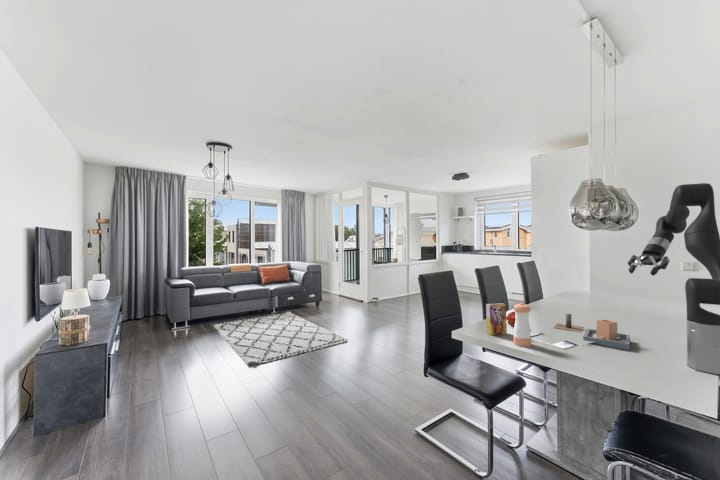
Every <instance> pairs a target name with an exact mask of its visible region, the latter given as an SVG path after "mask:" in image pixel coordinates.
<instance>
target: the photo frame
mask: <svg viewBox="0 0 720 480" xmlns="http://www.w3.org/2000/svg"><path fill="white" fill-rule="evenodd" d="M543 334H544V332H540V333H536V334H535V333H534V334H530V337H531V341H534V342H538V343H541V344H544V345H548V346H551V347H555V348H557V349H560V350H566V349H570V348H573V347H577V346H579V344H578V343H577V344H576V343H574V342H571V341H568V340H564V341H559V342H556V343H548V342H546V341H542V340H539V339H536V338H533V336H538V335H543Z"/></svg>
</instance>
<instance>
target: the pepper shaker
mask: <svg viewBox="0 0 720 480" xmlns="http://www.w3.org/2000/svg"><path fill="white" fill-rule="evenodd" d="M512 309H513V312H515V326H513V333H514V334H513V344H514V345H515V346H519V347H522V348H523V347H526V348H527V347H531V346H532V340H531V338H532V336H530V335H531V325H530V321H529V320H530V317H529V316H530V315H529V313H530V312H531V307H530V306H529V305H528V304H525V303H524V302H520V303H517V304H514V306H513V307H512Z"/></svg>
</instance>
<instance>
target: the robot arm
mask: <svg viewBox="0 0 720 480" xmlns="http://www.w3.org/2000/svg"><path fill="white" fill-rule="evenodd" d="M715 205H716V204H715V193H714V188H713V186H712V185H711V184H710V183H707V182H705V183H704V182H703V183H687V184H686V183H685V184H680V185H678V186H676V187H675V188H674V190H673V193H672V196H671V200H670V204H669V209H668V211H667V213H666V215H662V216H659V218H658V219H657V220H656V225H655V232H654V234H653V235H652V237H651V239H650V240H649V241H648V242H647V244H646V245H645V247H644V249H643V250H642V252H641V255H639V256H637V255H635V254H633V255H632V256H631V257H630V259H629V260H628V261H627V265H628V266H629V268H628V270H627V271H628V272H629V274H632V275H633V274H634V272H635V271H636V268H638V267H642V266H653V267H652V269H650V273H649V274H650V275H651V276H653V277H654V276H656V275H657V274H658V273H659V271H660V270H666V269H667V268H668V266H669V263H670V261H671V260H670V259H669V257H668V256H666V253H667V252H668V250H669V248H670V245H671V244H672V241H673V240H674V238H675V235H674V234H681V233H683V232H684V233H683V238H684V246H685V249H686V251H687V252H688V253H689V254H690V255H691V256H692V257H693V258H694V259H695V260H696V261H698V262H699V263H700V264H702V266H704V267H705V269H706V270H707V271H708V273H709V275H710V277H711V278H701V277H700V278H696V277H695V278H694V277H692V278H688V279H687V280H686V281H685V285H684V286H685V287H684V290H685V303H686V363H687V364H686V365H687V367H688V368H689V367H690V368H691V369H693V370H694V371H698V372H704V373H709V374H714V375H720V314H718V313H715V312H712V311H709V310H707V309H706V308H705V309H704V308H703V307H701V305H702V304H703V305H716V306H720V233H719V232H720V231H719V228H718V223H717V218H716V211H715V210H716V207H715ZM688 207H700V212H699V214H698V215H697V216H696V218H695V219H694V220H693V221H692V222H691V223H690V224H689V225H688V226H687V224H688V223H687V219H688V218H689V216H690V209H689V208H688ZM658 263H660V264H658Z"/></svg>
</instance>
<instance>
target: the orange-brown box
mask: <svg viewBox="0 0 720 480" xmlns="http://www.w3.org/2000/svg"><path fill="white" fill-rule="evenodd" d="M596 330H597V334H596V338H599V339H605V340H611V341H617V338H618V337H617V333H618V321H615V320H611V319H606V318H605V319H604V318H603V319H596Z"/></svg>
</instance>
